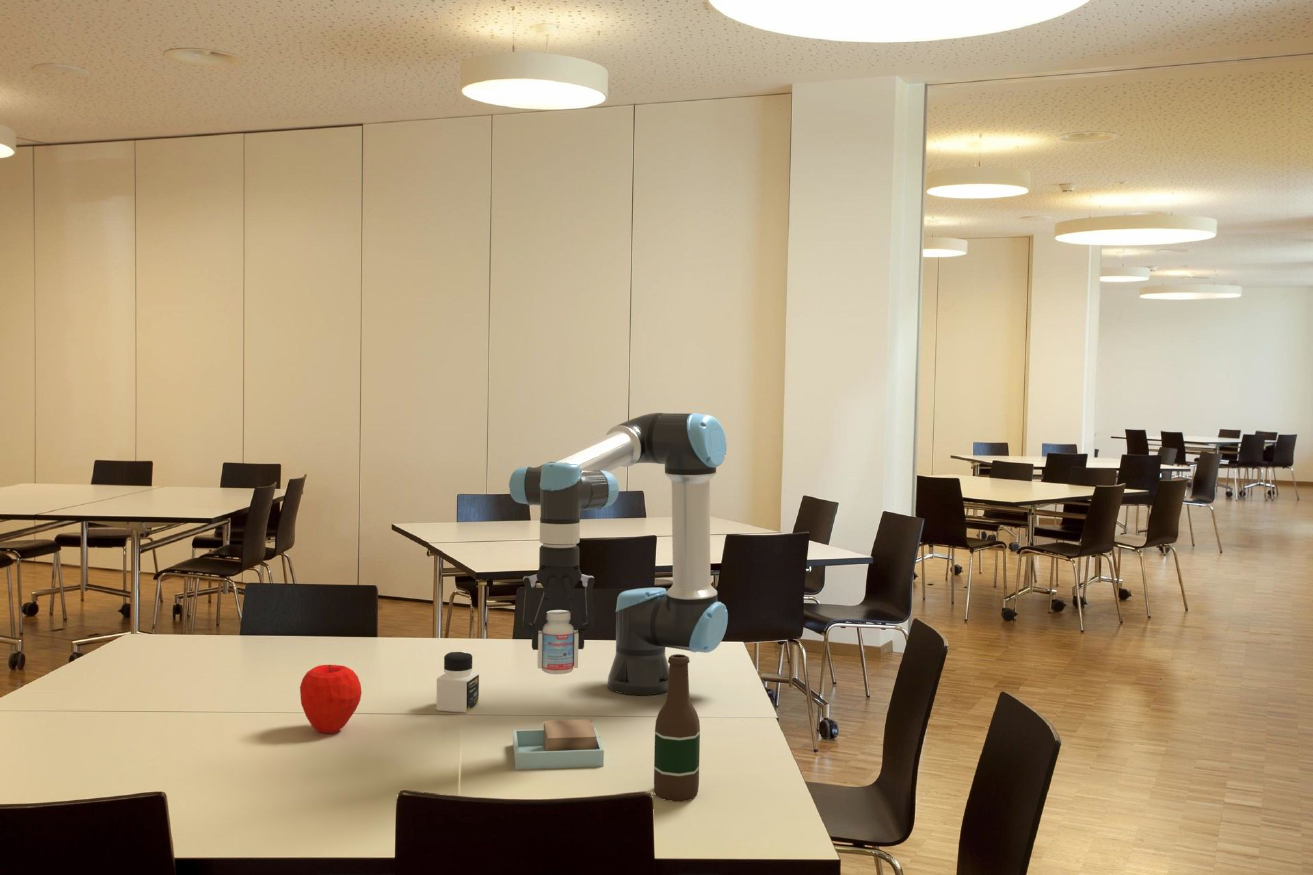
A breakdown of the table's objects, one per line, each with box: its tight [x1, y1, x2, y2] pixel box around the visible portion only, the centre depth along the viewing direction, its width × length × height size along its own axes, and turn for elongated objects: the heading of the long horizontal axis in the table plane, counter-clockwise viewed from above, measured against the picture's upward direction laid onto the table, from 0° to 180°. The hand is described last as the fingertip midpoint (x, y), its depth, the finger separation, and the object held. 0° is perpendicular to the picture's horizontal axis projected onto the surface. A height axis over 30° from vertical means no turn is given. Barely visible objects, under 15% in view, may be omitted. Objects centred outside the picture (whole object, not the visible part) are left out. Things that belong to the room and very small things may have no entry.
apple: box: [299, 664, 363, 734], centre depth 222 cm, size 12×12×13 cm
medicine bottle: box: [435, 650, 480, 714], centre depth 240 cm, size 7×7×12 cm
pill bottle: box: [540, 609, 575, 675], centre depth 209 cm, size 6×6×11 cm
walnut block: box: [543, 718, 597, 751], centre depth 208 cm, size 9×11×5 cm
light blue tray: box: [512, 727, 605, 770], centre depth 207 cm, size 16×14×4 cm
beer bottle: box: [653, 653, 701, 802], centre depth 189 cm, size 8×8×24 cm
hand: (557, 666), depth 209 cm, fingers closed on pill bottle, 6 cm apart
